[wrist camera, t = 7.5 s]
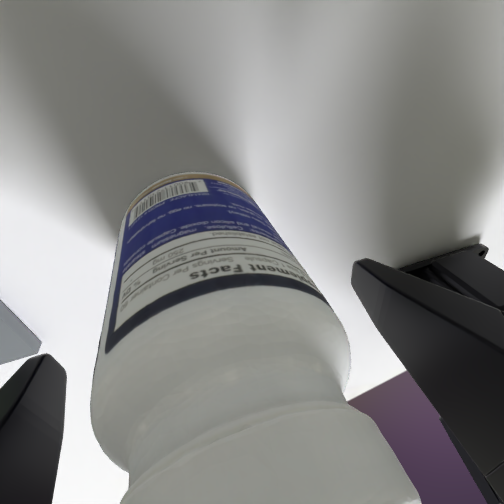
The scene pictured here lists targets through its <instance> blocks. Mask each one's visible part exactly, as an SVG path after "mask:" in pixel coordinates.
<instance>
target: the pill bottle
mask: <svg viewBox="0 0 504 504" xmlns="http://www.w3.org/2000/svg"><path fill="white" fill-rule="evenodd" d="M350 367H351V352H350V345H349V341H348V338H347V335H346V332H345V330H344V327H343V325H342V324H341V322H340V320H339V319H338V317H337V315H336V314H335V313H334V311H333V310H332V308H331V306H330V305H329V303H328V302H327V300H326V299H325V297H324V296H323V294H322V293H321V292H320V291H319V290H318V288H317V287H316V285H315V284H314V282H313V281H312V280H311V278H310V277H309V276H308V274H307V272H306V271H305V270H304V269H303V267H302V266H301V265H300V263H299V262H298V261H297V259H296V258H295V257H294V255H293V254H292V252H291V251H290V250H289V248H288V247H287V245H286V244H285V243H284V241H283V240H282V239H281V237H280V236H279V234H278V233H277V232H276V230H275V229H274V227H273V226H272V225H271V223H270V222H269V220H268V219H267V218H266V216H265V215H264V214H263V212H262V211H261V209H260V208H259V207H258V205H257V204H256V203H255V201H254V200H253V199H252V198H251V196H250V195H249V194H248V193H247V192H246V191H245V190H244V189H243V188H241V187H240V186H239V185H237V184H236V183H234V182H232V181H231V180H229V179H227V178H224V177H222V176H219V175H215V174H211V173H205V172H183V173H178V174H173V175H170V176H167V177H165V178H162V179H160V180H158V181H156V182H154V183H153V184H151V185H149V186H148V187H146V188H145V189H144V190H143V191H142V192H141V193H140V194H139V195H138V196H137V197H136V198H135V199H134V200H133V202H132V203H131V204H130V206H129V208H128V209H127V211H126V213H125V215H124V218H123V221H122V224H121V228H120V232H119V237H118V242H117V247H116V252H115V259H114V265H113V271H112V277H111V282H110V288H109V294H108V300H107V306H106V311H105V316H104V322H103V327H102V332H101V336H100V341H99V347H98V354H97V358H96V364H95V368H94V374H93V382H92V391H91V401H90V413H91V424H92V428H93V431H94V435H95V437H96V439H97V441H98V443H99V444H100V446H101V448H102V450H103V452H104V453H105V454H106V455H107V456H108V457H109V459H110V460H111V461H112V462H113V463H114V464H116V465H117V466H118V467H120V468H121V469H122V470H124V471H126V472H128V473H129V489H128V491H127V492H126V493H125V495H124V496H123V498H122V500H121V502H120V504H421V500H420V497H419V495H418V492H417V490H416V489H415V487H414V486H413V484H412V482H411V481H410V479H409V477H408V476H407V474H406V473H405V471H404V469H403V467H402V466H401V464H400V462H399V461H398V459H397V457H396V456H395V454H394V452H393V451H392V449H391V448H390V446H389V444H388V443H387V442H386V440H385V439H384V437H383V436H382V434H381V432H380V431H379V429H378V427H377V425H376V424H375V422H374V421H373V420H372V419H371V418H370V417H369V416H368V415H366V414H364V413H361V412H360V411H359V410H357V409H355V408H354V407H352V406H349V405H348V403H347V401H346V399H345V397H344V395H343V392H344V390H345V388H346V385H347V382H348V379H349V374H350Z"/></svg>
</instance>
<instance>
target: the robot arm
mask: <svg viewBox="0 0 504 504" xmlns="http://www.w3.org/2000/svg"><path fill="white" fill-rule="evenodd" d="M488 250H489V249H488V247H486V246H484V245H482V244H477V245H474V246H470V247H467V248H464V249H461V250H458V251H454V252H451V253H448V254H445V255H442V256H438V257H435V258H432V259H429V260H425V261H422V262H419V263H416V264H413V265H409V266H406V267H403V268H401V269H399V270H397V269H394V268H391V267H389V266H386V265H384V264H381V263H379V262H376V261H374V260H371V259H368V258H364V259H361V260H357V261H355V262H354V264H353V269H352V277H351V284H352V287H353V289H354V290H355V292H356V294H357V296H358V297H359V299H360V301H361V302H362V304H363V306H364V308H365V309H366V311H367V313H368V315H369V316H370V318H371V320H372V321H373V323H374V325H375V326H376V328H377V329H378V331H379V332H380V334H381V335H382V336H383V338H384V339H385V341H386V342H387V343H388V345H389V346H390V347H391V349H392V350H393V351H394V353H395V354H396V356H397V357H398V358H399V360H400V361H401V362H402V364H403V365H404V367H405V368H406V369H407V371H408V372H409V373H410V375H411V376H412V378H413V379H414V380H415V382H416V383H417V384H418V386H419V387H420V388H421V390H422V391H423V393H424V394H425V395H426V397H427V398H428V399H429V401H430V402H431V404H432V405H433V406H434V408H435V409H436V410H437V412H438V413H439V414H440V416H441V417H439V419H440V421H441V423H442V425H443V426H444V428H445V430H446V432H447V433H448V435H449V437H450V439H451V441H452V443H453V444H454V446H455V448H456V449H457V451H458V453H459V455H460V456H461V458H462V460H463V462H464V463H465V465H466V467H467V469H468V470H469V472H470V474H471V476H472V477H473V479H474V481H475V483H476V484H477V486H478V488H479V489H480V491H481V493H482V495H483V496H484V498H485V500H486V502H487V503H488V504H504V271H503V270H502V269H500V268H498V267H497V266H495V265H494V264H492V263H490V262H489V261H487V260H485V259H484V258H485V256H486V254H487V252H488ZM66 382H67V375H66V371H65V369H64V368H63V367H62V366H61V365H60V364H59V363H58V362H57V361H56V360H55V359H54V358H53V357H52V356H51V355H50V354H47V353H46V354H41V355H38V356H35V357H32V358H30V359H28V360H27V361H26V362H25V363H24V364H23V365H22V366H21V367H20V368H19V369H18V370H17V371H16V373H15V374H14V375H13V376H12V377H11V378H10V379H9V380H8V381H7V382H6V383H5V384H4V385H3V386H2V388H1V389H0V504H52V499H53V493H54V487H55V481H56V476H57V470H58V464H59V458H60V452H61V446H62V439H63V431H64V417H65V400H66Z"/></svg>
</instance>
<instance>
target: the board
mask: <svg viewBox="0 0 504 504" xmlns="http://www.w3.org/2000/svg"><path fill="white" fill-rule="evenodd" d="M41 343H42V342H41V341H40V340H39V339H38V338H37V337H36V336H35V335H34V334H33V333H32V332H31V331H30V330H29V329H28V328H27V327H26V326H25V325H24V324H23V323H22V322H21V321H20V320H19V319H18V318H17V317H16V316H15V315H14V314H13V313H12V312H11V311H10V310H9V309H8V308H7V307H6V306H5V305H4V304H3V303H2V301H1V300H0V365H1V364H4V363H8V362H11V361H14V360H18V359H21V358H24V357H28V356H31V355H34V354H37V353H38V351H39V348H40V346H41Z"/></svg>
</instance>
